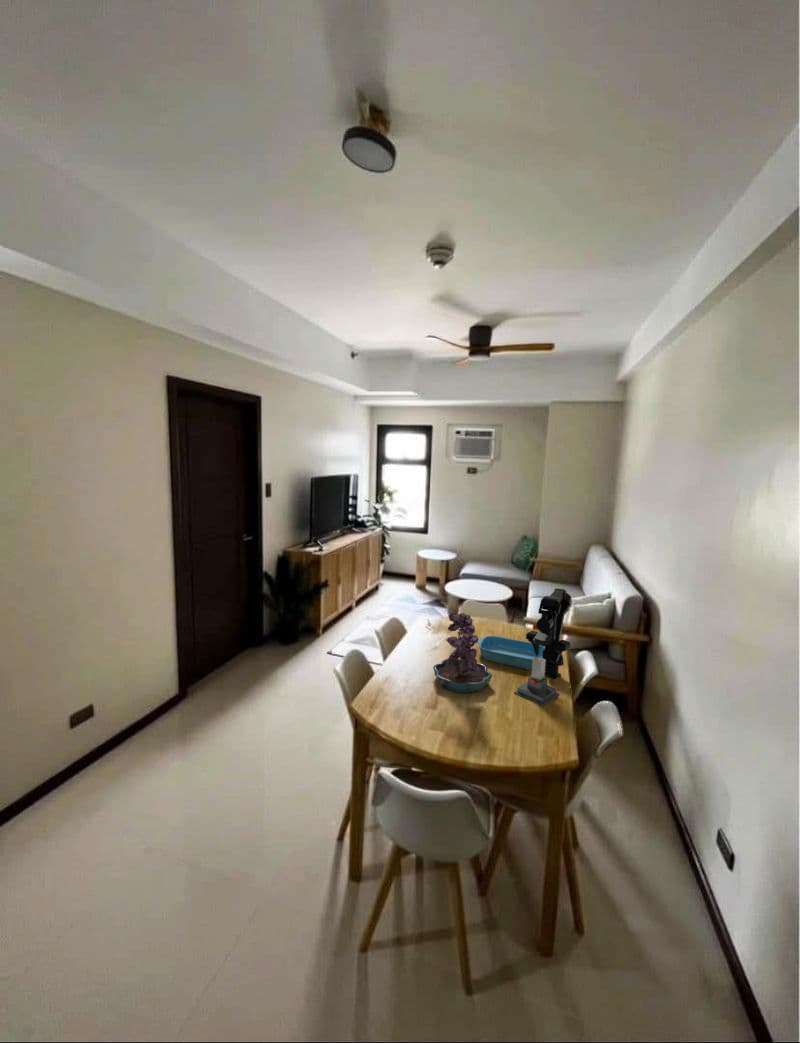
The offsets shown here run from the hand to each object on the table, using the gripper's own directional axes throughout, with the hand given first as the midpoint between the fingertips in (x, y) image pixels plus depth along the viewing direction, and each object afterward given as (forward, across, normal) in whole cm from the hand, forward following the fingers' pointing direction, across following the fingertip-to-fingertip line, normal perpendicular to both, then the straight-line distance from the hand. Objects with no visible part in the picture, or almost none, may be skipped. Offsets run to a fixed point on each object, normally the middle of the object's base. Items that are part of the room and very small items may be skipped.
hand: (546, 658), depth 194 cm
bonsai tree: (+13, -26, -28) cm, 40 cm away
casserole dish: (+14, -25, +14) cm, 32 cm away
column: (+9, +1, -9) cm, 13 cm away
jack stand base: (+13, +1, -9) cm, 16 cm away
